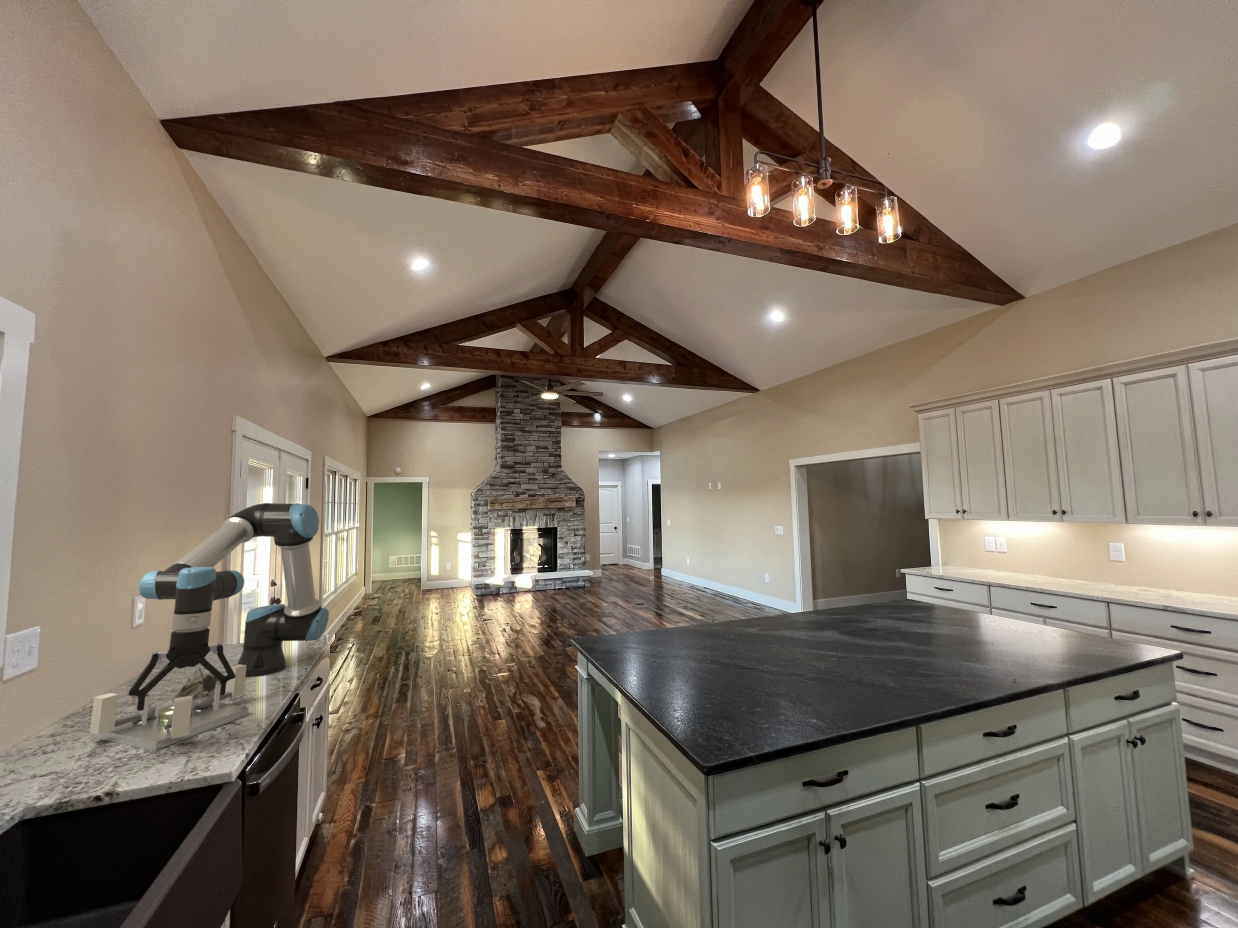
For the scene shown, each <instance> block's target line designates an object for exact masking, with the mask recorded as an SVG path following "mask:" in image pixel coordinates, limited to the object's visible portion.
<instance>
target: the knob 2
mask: <svg viewBox="0 0 1238 928" xmlns="http://www.w3.org/2000/svg"><path fill="white" fill-rule="evenodd" d="M173 704H174V709H173V715H170V716H169V717H168V721H167V726H168V727H171V739H172V738H177V737H181V736H186V735H189V726H190V717H191V707H192V696H187V697H181V698H176V699H175V700H174V702H173Z"/></svg>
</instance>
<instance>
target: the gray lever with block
mask: <svg viewBox="0 0 1238 928" xmlns="http://www.w3.org/2000/svg"><path fill="white" fill-rule="evenodd" d="M237 664H238V663H237ZM237 664H235V665H230V666H231V668H232V670H233V672H234V674H235V676H236V677H235V678H234V679H231V680H229V681H227V683H226V690H225V694H224V695H222V696H220V699H219V702H220V701H222V700H226V699H229V698H231V699H235V698H237V697H241V696H243V695H244V693H245V684H246V677H245V676H246V665H240V664H238V665H237ZM226 675H228V674H227V673H226ZM214 697H215V695H213V696H211V695H210V696H207V697H201V698H197V699H195V700H194V709H202V708H207V707H210V706H211V705H212V703H214Z"/></svg>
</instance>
